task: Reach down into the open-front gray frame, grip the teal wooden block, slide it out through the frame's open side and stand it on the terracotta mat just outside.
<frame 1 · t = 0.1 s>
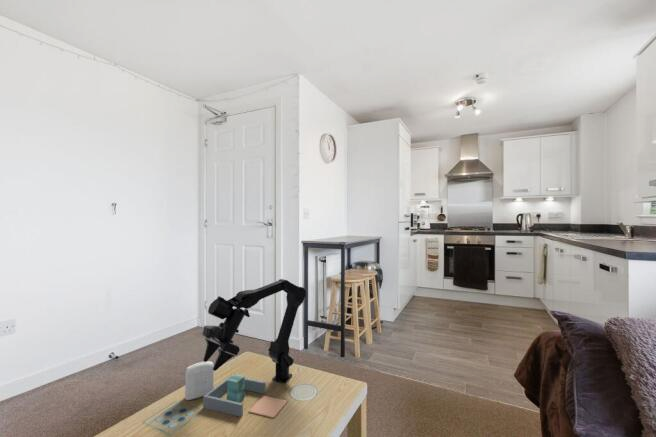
hand: (209, 365, 108), 15 cm above the table, tool tilted 30°, fingers open, 9 cm apart
photo printer: (199, 395, 116), on the table
teal block: (235, 388, 113), in the open-front gray frame
terracotta mat: (268, 406, 108), on the table
open-front gray frame: (235, 399, 112), on the table
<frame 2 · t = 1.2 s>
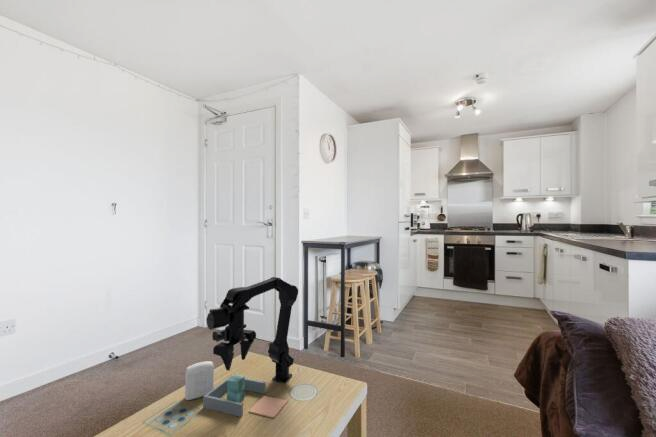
hand: (235, 364, 113), 13 cm above the table, tool pointing down, fingers open, 9 cm apart
nothing on the table moved.
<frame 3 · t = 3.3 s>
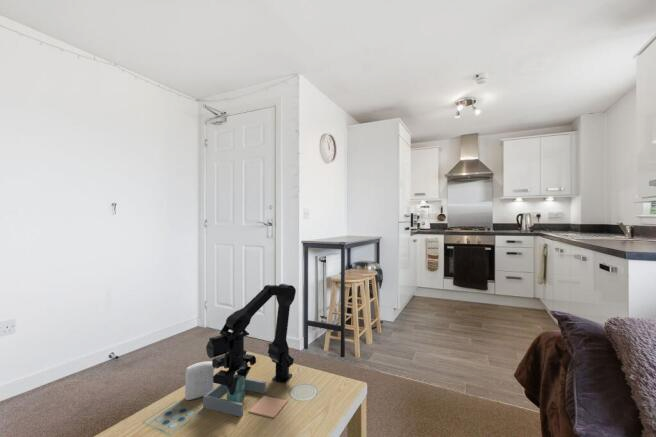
hand: (235, 391, 113), 3 cm above the table, tool pointing down, fingers closed on teal block, 4 cm apart
teal block: (235, 388, 113), in the open-front gray frame, touching gripper
everything else where it was.
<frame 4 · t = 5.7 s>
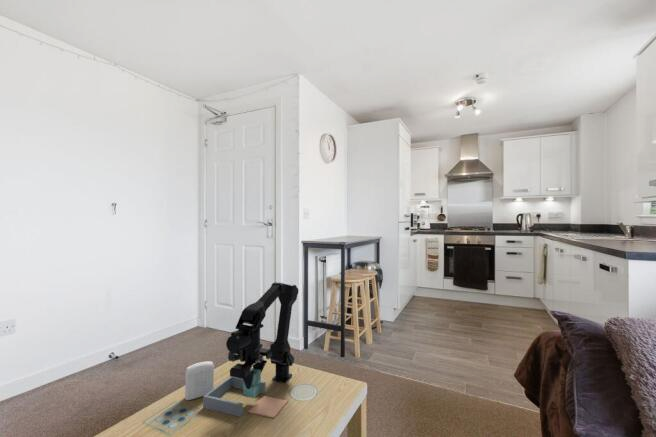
hand: (252, 385, 110), 6 cm above the table, tool pointing down, fingers closed on teal block, 4 cm apart
teal block: (252, 382, 110), point 7 cm above the table, touching gripper
everything else where it was.
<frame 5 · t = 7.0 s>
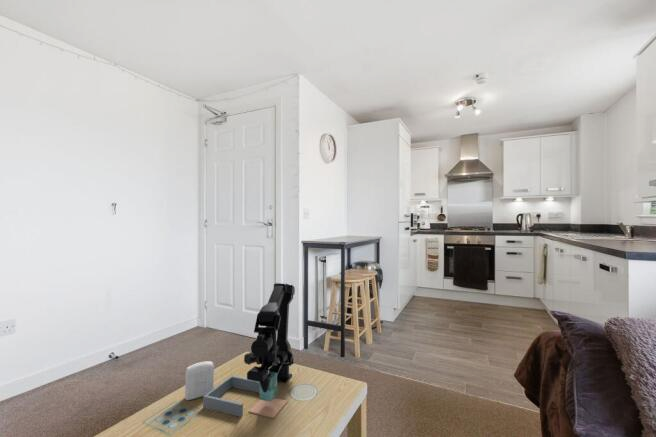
hand: (268, 388, 108), 6 cm above the table, tool pointing down, fingers closed on teal block, 4 cm apart
teal block: (268, 385, 108), point 7 cm above the table, touching gripper
everything else where it was.
when the fingers open (5 cm above the table, at t = 8.1 s): teal block drops 1 cm, resting on terracotta mat.
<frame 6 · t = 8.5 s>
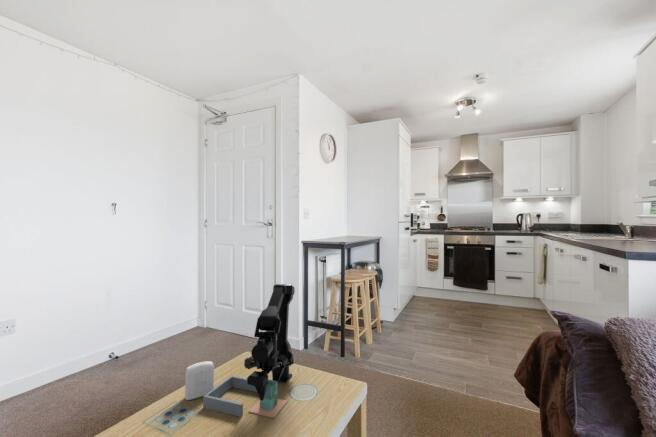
hand: (268, 393, 108), 5 cm above the table, tool pointing down, fingers open, 9 cm apart
teal block: (268, 394, 108), on the terracotta mat
everything else where it was.
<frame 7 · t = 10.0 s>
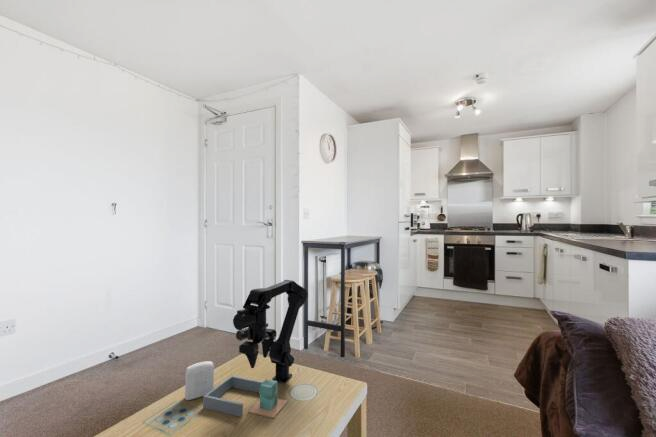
hand: (258, 362, 117), 12 cm above the table, tool pointing down, fingers open, 9 cm apart
nothing on the table moved.
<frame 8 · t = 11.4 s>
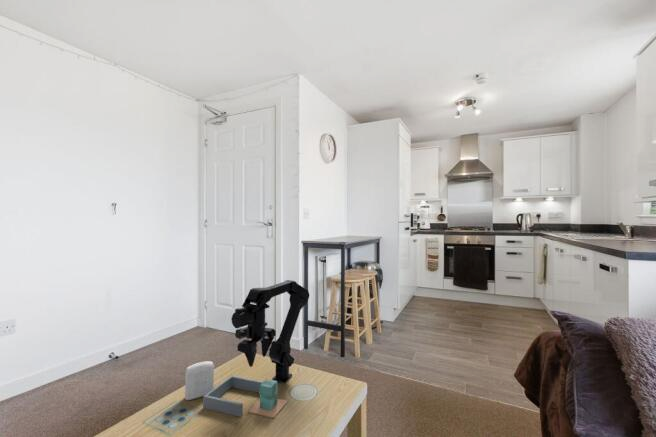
hand: (257, 361, 118), 12 cm above the table, tool pointing down, fingers open, 9 cm apart
nothing on the table moved.
at the end: teal block inside the target area (0.5 cm from its centre), resting on terracotta mat; teal block tilted 0°; the gripper is holding nothing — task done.
